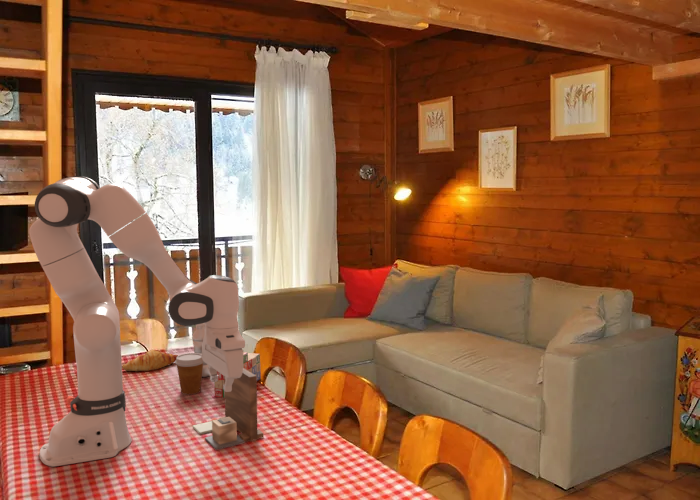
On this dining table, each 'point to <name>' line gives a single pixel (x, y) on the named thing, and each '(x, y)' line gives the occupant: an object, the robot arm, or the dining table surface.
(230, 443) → the slate pad
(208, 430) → the cream rectangular pad
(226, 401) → the walnut screen
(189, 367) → the disposable coffee cup
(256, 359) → the stack of blocks
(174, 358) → the croissant
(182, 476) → the dining table surface
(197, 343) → the plastic bottle
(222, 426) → the marked cube
